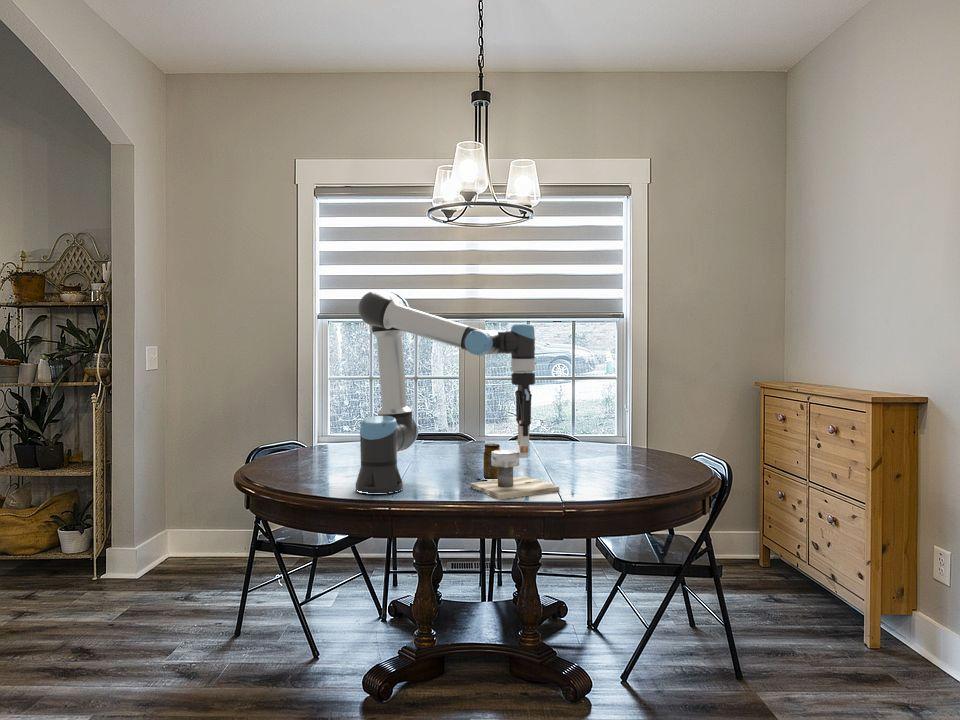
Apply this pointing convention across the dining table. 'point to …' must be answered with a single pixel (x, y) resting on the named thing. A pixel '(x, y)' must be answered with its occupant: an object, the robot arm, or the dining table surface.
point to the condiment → (490, 470)
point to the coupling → (509, 456)
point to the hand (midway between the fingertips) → (523, 445)
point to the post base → (513, 485)
